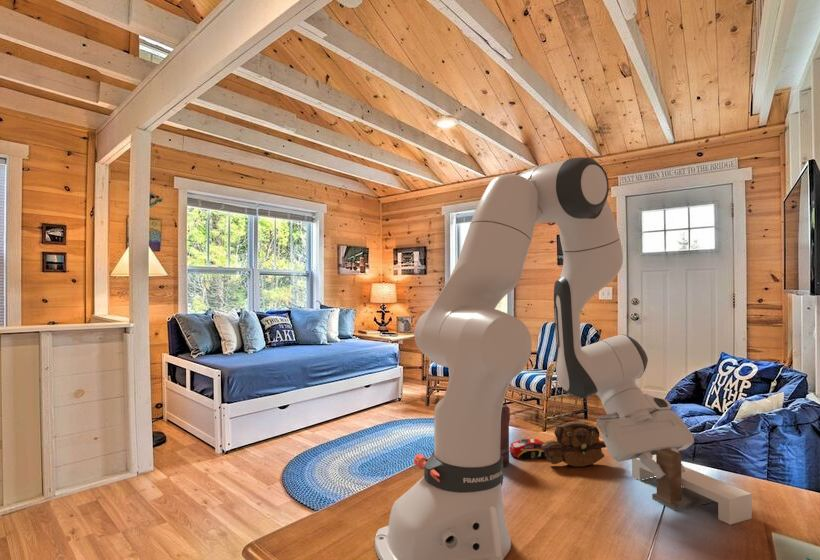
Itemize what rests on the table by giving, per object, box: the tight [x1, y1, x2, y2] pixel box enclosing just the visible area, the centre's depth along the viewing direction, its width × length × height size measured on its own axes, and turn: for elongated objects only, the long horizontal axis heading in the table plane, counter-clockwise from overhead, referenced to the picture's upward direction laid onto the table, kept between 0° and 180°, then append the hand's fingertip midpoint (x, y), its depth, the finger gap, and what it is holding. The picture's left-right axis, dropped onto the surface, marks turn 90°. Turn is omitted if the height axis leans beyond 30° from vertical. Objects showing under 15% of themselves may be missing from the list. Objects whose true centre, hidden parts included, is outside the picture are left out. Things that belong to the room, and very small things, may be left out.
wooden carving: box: [541, 421, 607, 468], centre depth 104 cm, size 16×5×10 cm, turn 101°
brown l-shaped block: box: [651, 449, 716, 512], centre depth 87 cm, size 12×5×10 cm, turn 110°
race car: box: [509, 438, 547, 460], centre depth 111 cm, size 13×5×4 cm, turn 91°
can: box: [500, 403, 511, 468], centre depth 106 cm, size 6×6×14 cm
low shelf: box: [631, 455, 753, 525], centre depth 89 cm, size 6×21×4 cm, turn 21°
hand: (672, 475), depth 85 cm, fingers open, 3 cm apart
